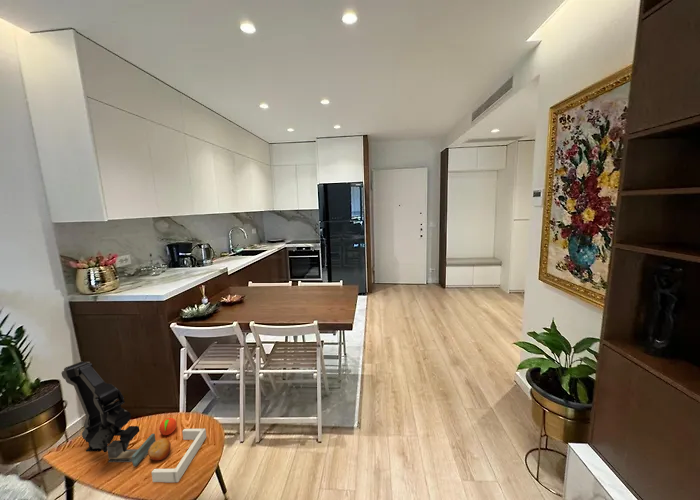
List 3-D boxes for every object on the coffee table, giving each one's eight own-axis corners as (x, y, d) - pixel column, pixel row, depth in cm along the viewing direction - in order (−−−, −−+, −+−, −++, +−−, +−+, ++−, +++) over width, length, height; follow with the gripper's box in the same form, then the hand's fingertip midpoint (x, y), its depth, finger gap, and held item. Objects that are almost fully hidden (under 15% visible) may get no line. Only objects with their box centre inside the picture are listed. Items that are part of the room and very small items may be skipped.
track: (108, 462, 121) (108, 461, 121) (119, 451, 127) (119, 449, 126) (139, 462, 121) (139, 460, 121) (149, 450, 126) (148, 449, 126)
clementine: (175, 437, 133) (173, 423, 132) (157, 442, 131) (155, 428, 130) (178, 425, 141) (177, 412, 140) (162, 429, 138) (160, 416, 137)
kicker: (99, 468, 118) (97, 455, 117) (122, 444, 130) (120, 432, 129) (136, 468, 118) (134, 455, 117) (156, 444, 129) (154, 432, 129)
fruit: (178, 442, 129) (170, 436, 124) (168, 464, 123) (159, 458, 118) (161, 441, 130) (152, 435, 124) (151, 462, 123) (141, 457, 118)
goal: (152, 482, 112) (151, 472, 111) (185, 437, 133) (184, 428, 133) (178, 482, 112) (176, 472, 111) (206, 437, 133) (205, 428, 133)
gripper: (69, 433, 113) (75, 468, 115) (117, 432, 113) (122, 468, 115) (94, 413, 124) (99, 445, 126) (138, 412, 124) (142, 445, 126)
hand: (115, 451), depth 123 cm, fingers open, 8 cm apart
